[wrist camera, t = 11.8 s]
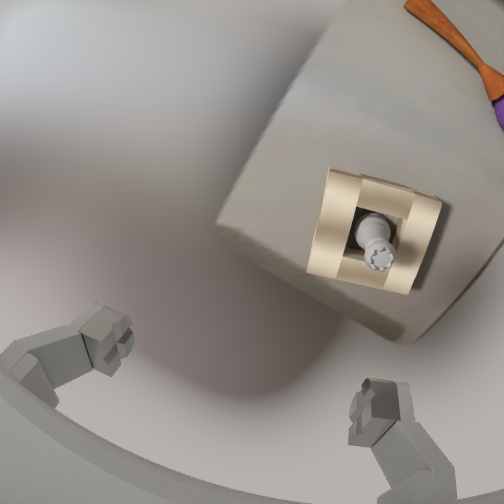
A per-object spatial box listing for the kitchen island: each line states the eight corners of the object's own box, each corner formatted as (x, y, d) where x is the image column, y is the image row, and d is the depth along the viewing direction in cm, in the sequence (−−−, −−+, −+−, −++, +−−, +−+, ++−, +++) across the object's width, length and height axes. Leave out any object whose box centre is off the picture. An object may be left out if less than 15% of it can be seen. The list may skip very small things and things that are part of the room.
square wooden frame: (329, 166, 32) (329, 171, 29) (433, 195, 30) (442, 202, 27) (308, 260, 37) (306, 272, 35) (403, 282, 35) (407, 295, 33)
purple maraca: (431, -23, 15) (552, 118, 16) (416, 0, 21) (524, 122, 22) (405, -3, 17) (535, 149, 18) (391, 21, 23) (506, 149, 24)
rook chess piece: (396, 230, 33) (412, 261, 26) (368, 253, 35) (377, 288, 28) (373, 203, 32) (385, 229, 25) (345, 227, 34) (349, 258, 27)
